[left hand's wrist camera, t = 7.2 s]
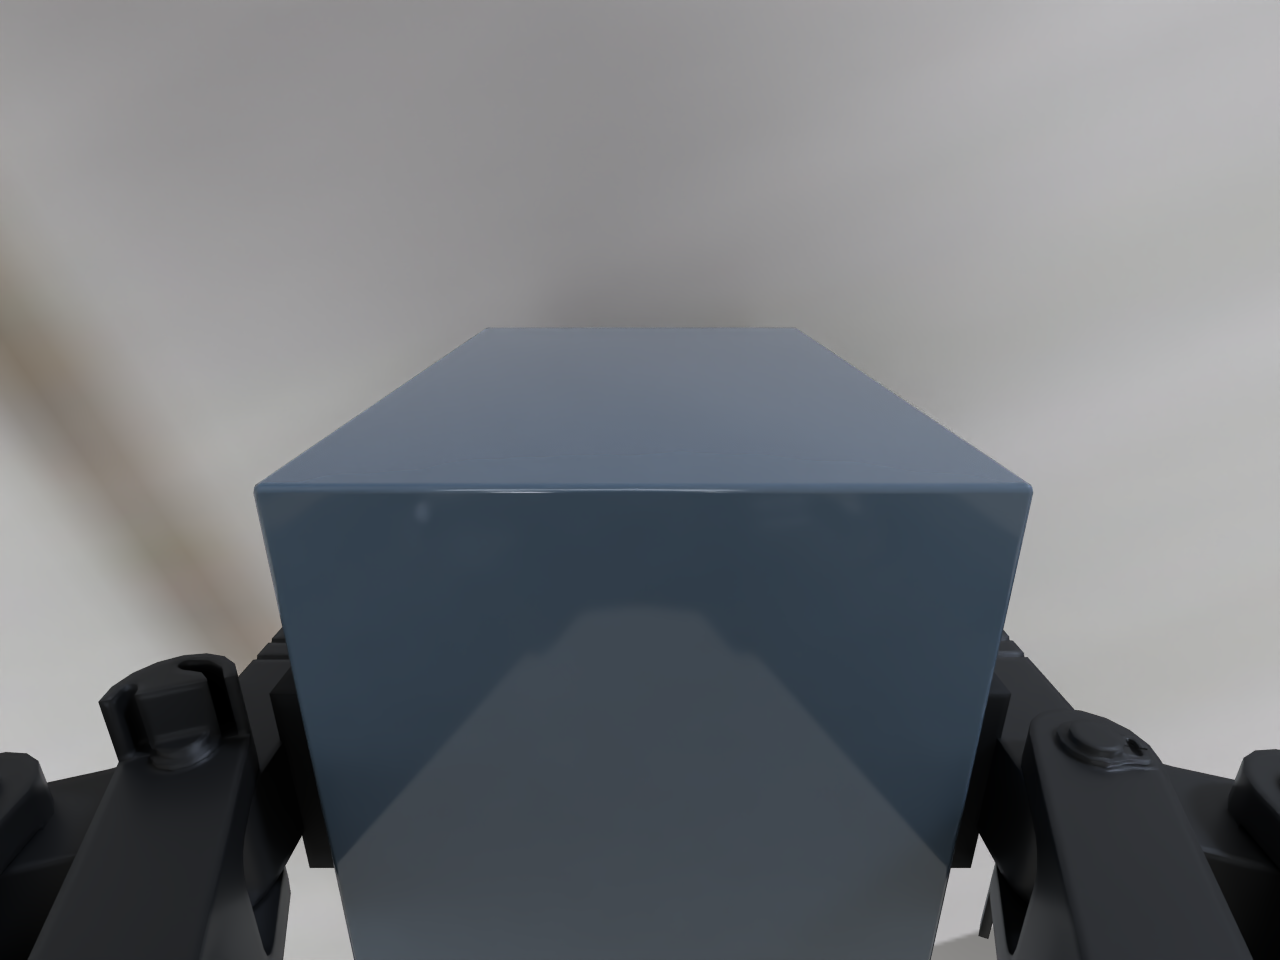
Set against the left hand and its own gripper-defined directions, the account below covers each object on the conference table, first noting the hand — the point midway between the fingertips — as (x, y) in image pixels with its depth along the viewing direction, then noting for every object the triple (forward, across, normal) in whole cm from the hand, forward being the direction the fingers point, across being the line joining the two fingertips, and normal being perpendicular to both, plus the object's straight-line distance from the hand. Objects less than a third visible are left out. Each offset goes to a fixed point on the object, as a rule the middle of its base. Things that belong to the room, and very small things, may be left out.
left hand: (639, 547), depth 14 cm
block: (+3, 0, 0) cm, 3 cm away
